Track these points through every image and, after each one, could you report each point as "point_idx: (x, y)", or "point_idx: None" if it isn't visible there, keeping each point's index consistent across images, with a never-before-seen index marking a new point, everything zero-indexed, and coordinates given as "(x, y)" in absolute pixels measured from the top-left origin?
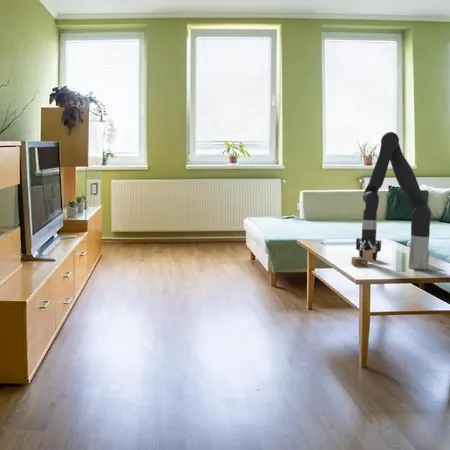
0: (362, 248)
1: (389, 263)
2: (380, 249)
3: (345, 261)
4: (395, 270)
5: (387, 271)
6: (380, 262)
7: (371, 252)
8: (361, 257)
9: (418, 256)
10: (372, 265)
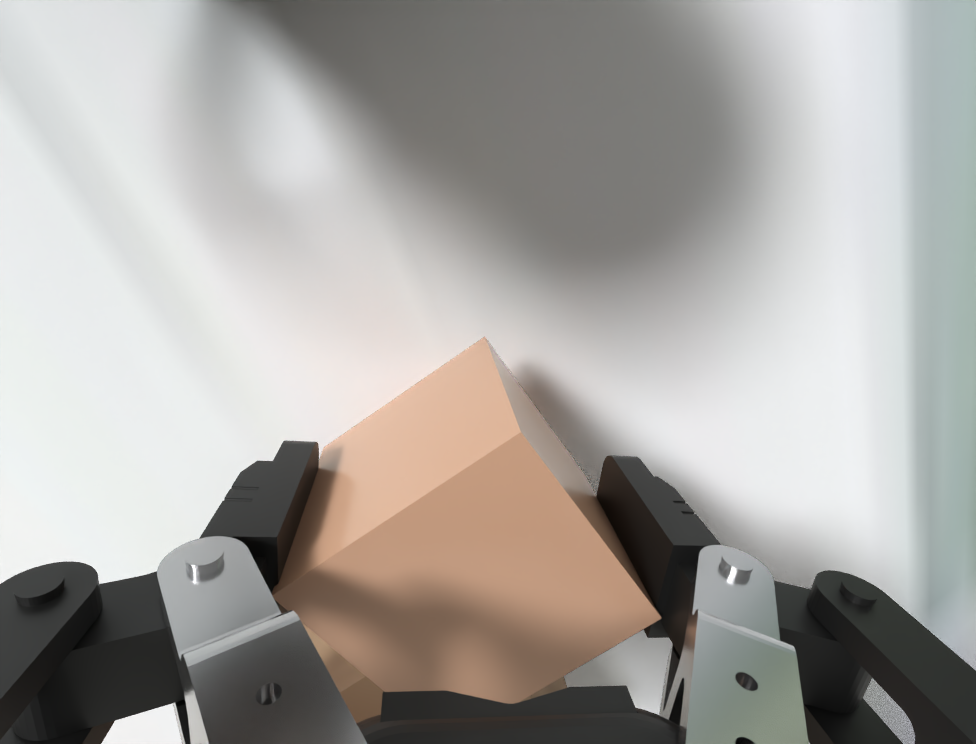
0: (224, 611)
1: (782, 7)
2: (909, 633)
3: (47, 527)
4: (911, 573)
5: None
6: (594, 39)
7: (603, 640)
8: None
9: None
10: None
